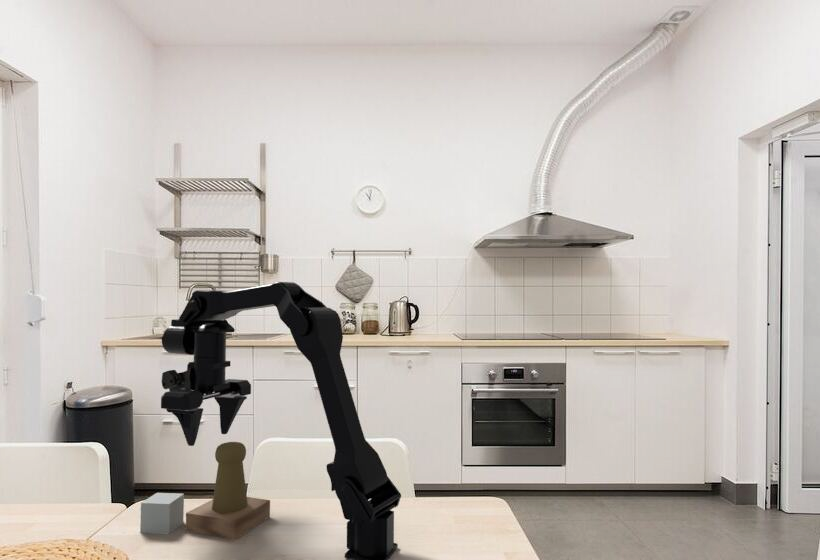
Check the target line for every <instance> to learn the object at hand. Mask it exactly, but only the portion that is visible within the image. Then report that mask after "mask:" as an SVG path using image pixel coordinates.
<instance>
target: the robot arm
mask: <svg viewBox="0 0 820 560" xmlns="http://www.w3.org/2000/svg"><path fill="white" fill-rule="evenodd" d="M271 307H276V310H277V314H278V315H279V319H280V320H281V321H282V322H283V324H284V325H285V326H286V327H287V328H288V329H289V331H290V335H291V336H292V339H293V341H294V343H295V345H296V347H297V349H298V351H299V352H300V353H301V354H302V355H303V356H304V357H305V358H306V360H308V361H309V363H310V365H311V367H312V371H313V375H314V378H315V382H316V386H317V389H318V392H319V396H320V399H321V403H322V406H323V410H324V413H325V417H326V420H327V424H328V428H329V430H330V436H331V438H332V442H333V445H334V458H333V461H331V462H329V463H327V464H326V472H327V474H328V476H329V479H330V483H331V487H330V489H331V490H330V491H331V492H334V493H335V495H336V497H337V499H338V500H339V503H340V507H341V510H342V514H343V518H344V519H345V520H348V521H347V522H346V548H347V551H346V552H345V553H344V558H345V559H349V560H389V558H390V557H391V556H392V554H393V553H394V552H395V551H396V550H397V549H398V546H399V544H398V543H397V542H394V541H395V511H394V510H393V509H394V508H397V507H399V504H400V501H401V498H402V494H401V492H400V490H399V489H398V488H397V487H396V486H395V484H394V483H393V481H392V480H391V479H390V477H389V476H388V474H387V470H386V468H385V466H384V464H383V462H382V459H381V458H380V455H379V453H378V452H377V451H376V449H374V447H373V446H372V445H371V444H370V443H369V442H368V440H366V437H365V435H364V431H363V427H362V425H361V421H360V419H359V418H360V417H359V414H358V411H357V408H356V405H355V401H354V398H353V395H352V392H351V389H350V384H349V382H348V377H347V375H346V372H345V368H344V365H343V360H342V358H341V350H342V345H343V339H344V335H343V329H342V323H341V317H340V315H339V313H338V312H337V311H336V310H334V309H332V308H331V307H327V306H326V305H325V304H324V303H323V302H322V301H321V300H319V299H317V298H316V297H314V296H313V295H312V294H310V293H308V292H307V291H305V290H304V289H303V287H301V286H300V285H299V284H298V283H296V282H290V281H275V282H274V283H270V284H266V285H265V284H264V285H260V286H255V287H254V286H253V287H247V288H241V289H235V290H219V289H218V290H217V289H215V290H213V289H196V290H194V291H193V292H192V293H191V297H190V298H189V300H188V302H187V303H186V305H185V307H184V309H183V311H182V313H181V314H180V316H179V318H178V319H171V320H170V322H171V325H169V326H168V327H167V328H165V331H164V332H163V334H162V336H161V345H162V347H163V349H164V350H165V352H167V353H169V354H175V355H185V356H187V355H189V356H193V361H190V362H188V364H187V365H186V367H187V368H186V370H185V371H181V372H178V371H176V369H169V370H166V371H164V372H162V374H161V386H162V388H163V389H164V390H169V391H165V392H164V393H163V394H162V395H161V396H160V408H161V409H164V410H166V412H167V413H171V414H173V415H174V416H175V417H176V418H177V420H178V422H179V424H180V427H181V429H182V432H183V435H184V438H185V441H186V444H187V446H188V447H193V446H195V444H196V441H197V437H198V434H199V429H200V424H201V422H202V421H201V420H202V416H203V412H204V408H202V407H201V406H202V404H203V403H204V402H203V401H205V400H209V399H213V398H214V399H215V401H216V403H217V404H218V406H219V423H220V425H219V427H220V434H221V435H227V434H228V433H229V431H230V428H231V426H232V424H233V422H234V421H235V418H236V416H237V414H238V412H239V411H240V409H241V407H242V405H243V404H244V402H245V400H247V399H248V395H251V394H252V384H251V383H250V381H249V380H247V379H236V378H228V379H226V368H227V367H231V360H226V359H227V358H226V357H227V334H228V333H235V331H236V330H235V328H234V327H233V326H232V325H231V324H230V323H229V321H228V320H227V319H230V318H233V317H235V316H237V315H238V314H239V313H241V312H243V311H250V310H256V309H263V308H271Z"/></svg>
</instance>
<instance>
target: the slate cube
mask: <svg viewBox="0 0 820 560" xmlns="http://www.w3.org/2000/svg"><path fill="white" fill-rule="evenodd" d="M184 507H185V493H171V492H156V493H154V494H152V495H151V496H150V497H148V498H147V499H145V500H143V501H141V503H140V524H139V525H140V531H139V533H141V534H162V535H163V534H164V535H165V534H166V535H167V534H168V535H169V534H171V533H173V531H174V530H175V529H177V528H178V527H179V526H180V525H182V524H183V523H184V513H185V512H184Z"/></svg>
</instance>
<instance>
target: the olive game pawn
mask: <svg viewBox="0 0 820 560" xmlns="http://www.w3.org/2000/svg"><path fill="white" fill-rule="evenodd" d="M246 455H247V449H246V446H245V444H243V443H242V442H239V441H227V442H224V443H221V444H219V445H218V446H217V447H216V450H215V453H214V456H215V461H216V462H217V463H218V465H217V471H216V477H215V484H214V485H215V486H214V492H213V498H212V500H213V503H212V510H213V511H215V512H219V513H231V512H236V511H240V510H242V509H244V508H246V507H247V506H248V503H247V497H248V495H247V488H246V478H245V477H246V476H245V470H244V460H245V459H246Z"/></svg>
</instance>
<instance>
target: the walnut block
mask: <svg viewBox="0 0 820 560" xmlns="http://www.w3.org/2000/svg"><path fill="white" fill-rule="evenodd" d="M212 503H213V499H211V500H209V501H207V502H205V503H203V504H201V505H199V506H196V507H195V508H193V509H191V510H189V511H187V512H186V513H185V532H191V533H196V534H202V535H207V536H213V537H218V538H224V539H225V538H226V539H231V540H237V539H238V538H240V537H242V535H245V534H246V533H248V532H249V531H251V530H253V529H254V528H255V527H256V526H258V525H260V524H261V523H264V521H266V520H267V519H269V518H270V517H271V500H270V499H266V498H257V497H251V496H250V497H249V496H247V503H248V506H247V507H246V508H244V509H242V510H240V511H236V512H231V513H219V512H215V511H213V510H212Z"/></svg>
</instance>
